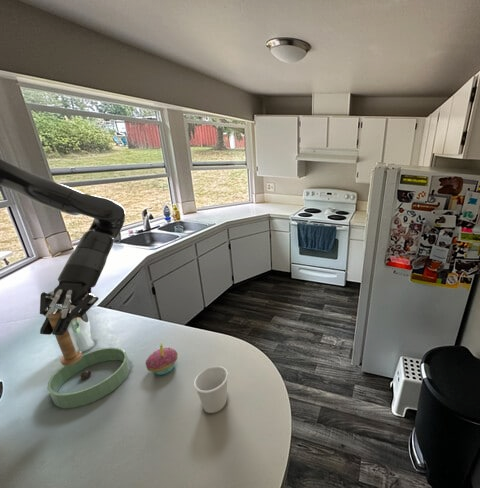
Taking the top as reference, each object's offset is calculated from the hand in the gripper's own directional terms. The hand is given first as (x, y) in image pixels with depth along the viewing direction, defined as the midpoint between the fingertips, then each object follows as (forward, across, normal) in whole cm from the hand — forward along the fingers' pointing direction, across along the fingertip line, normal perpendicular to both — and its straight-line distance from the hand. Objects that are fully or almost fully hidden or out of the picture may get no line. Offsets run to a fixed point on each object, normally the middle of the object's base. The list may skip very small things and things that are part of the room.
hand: (51, 334), depth 60 cm
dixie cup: (+15, +37, +18) cm, 44 cm away
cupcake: (+8, +15, +26) cm, 31 cm away
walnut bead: (+10, -6, +21) cm, 24 cm away
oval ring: (+12, -2, +22) cm, 25 cm away
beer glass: (+3, -18, +31) cm, 36 cm away
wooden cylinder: (+6, 0, +8) cm, 10 cm away
